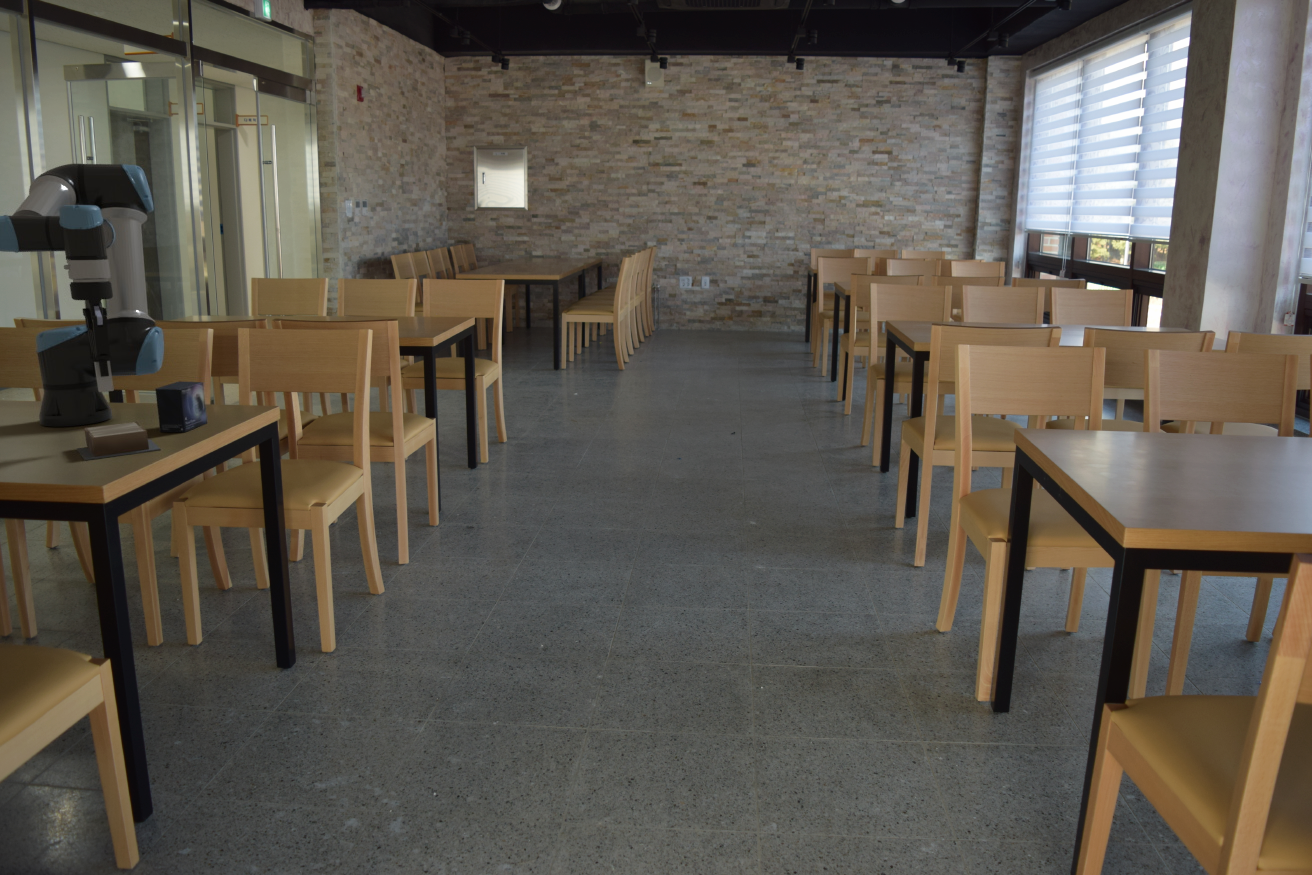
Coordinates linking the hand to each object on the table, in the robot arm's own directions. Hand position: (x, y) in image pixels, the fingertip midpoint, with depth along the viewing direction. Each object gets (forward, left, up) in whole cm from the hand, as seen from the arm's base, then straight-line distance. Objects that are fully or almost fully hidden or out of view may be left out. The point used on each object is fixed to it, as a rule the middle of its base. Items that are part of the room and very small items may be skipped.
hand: (106, 390), depth 196 cm
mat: (+5, 0, -12) cm, 13 cm away
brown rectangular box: (-2, 0, -10) cm, 10 cm away
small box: (-10, +16, -12) cm, 22 cm away
